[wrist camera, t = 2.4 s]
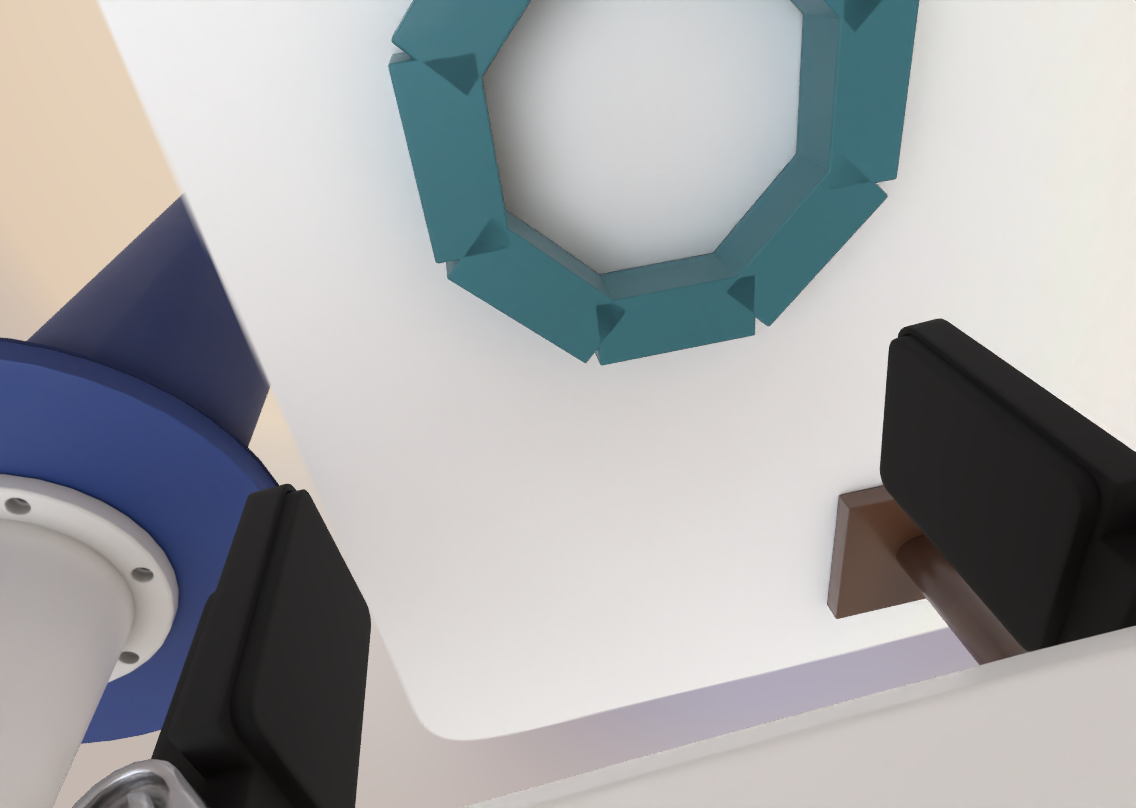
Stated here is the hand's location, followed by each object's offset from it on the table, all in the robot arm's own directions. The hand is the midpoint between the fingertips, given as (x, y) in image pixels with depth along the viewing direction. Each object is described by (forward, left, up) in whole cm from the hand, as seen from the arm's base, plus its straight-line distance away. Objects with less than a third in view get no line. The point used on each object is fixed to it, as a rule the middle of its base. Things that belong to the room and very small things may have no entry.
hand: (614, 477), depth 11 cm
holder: (+20, -25, -19) cm, 37 cm away
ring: (+6, +1, -19) cm, 20 cm away
